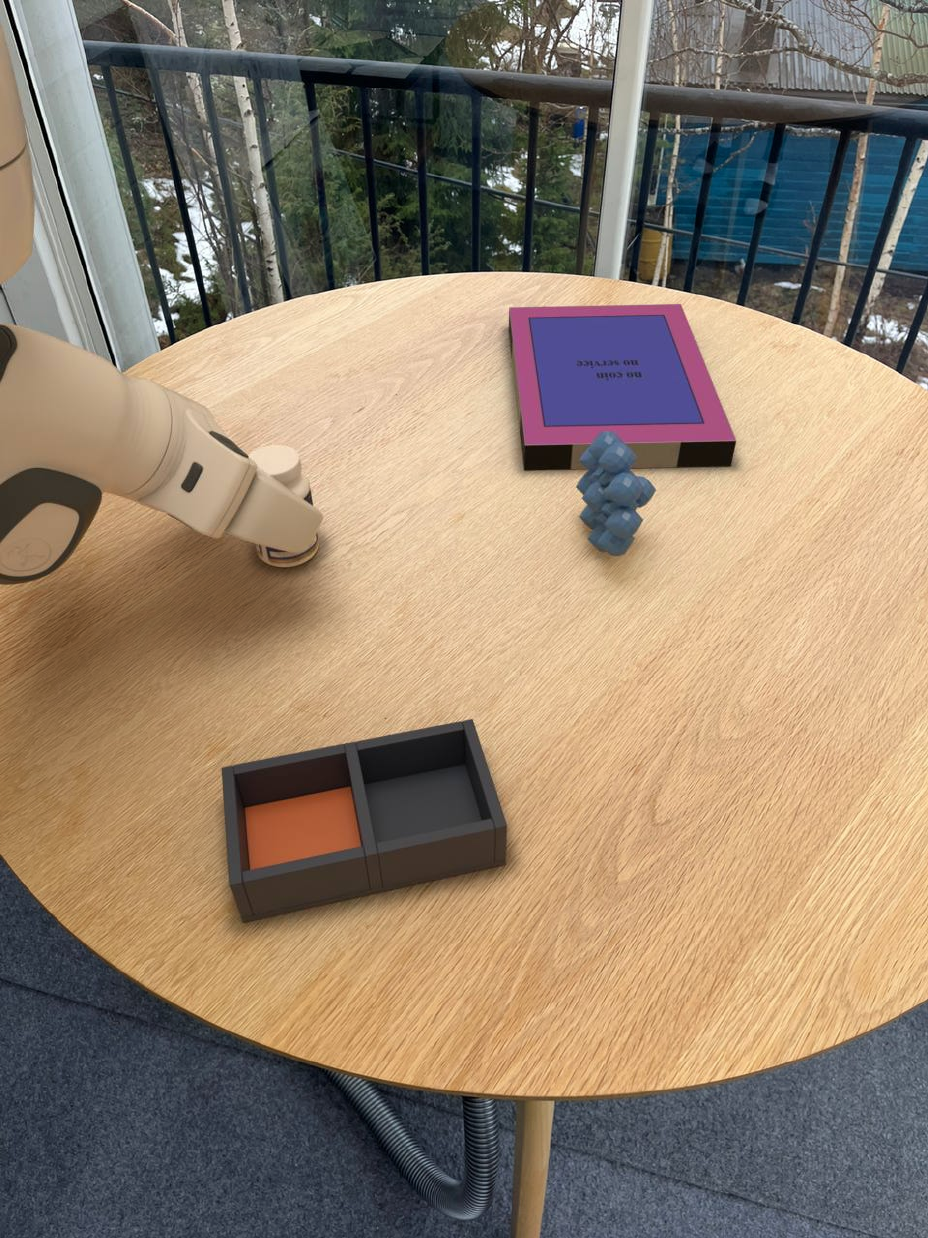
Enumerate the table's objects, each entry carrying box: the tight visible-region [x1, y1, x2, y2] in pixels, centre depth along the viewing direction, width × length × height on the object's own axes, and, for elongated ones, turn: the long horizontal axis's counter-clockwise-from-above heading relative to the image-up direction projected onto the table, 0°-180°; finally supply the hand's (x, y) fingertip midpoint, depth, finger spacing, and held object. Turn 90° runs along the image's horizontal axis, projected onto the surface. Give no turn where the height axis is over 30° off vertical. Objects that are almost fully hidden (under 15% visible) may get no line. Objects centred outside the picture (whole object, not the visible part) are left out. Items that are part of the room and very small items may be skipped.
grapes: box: [575, 431, 657, 558], centre depth 82 cm, size 12×7×12 cm, turn 10°
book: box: [508, 303, 737, 471], centre depth 105 cm, size 21×3×30 cm
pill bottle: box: [247, 444, 320, 568], centre depth 83 cm, size 6×6×10 cm
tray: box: [221, 718, 508, 923], centre depth 63 cm, size 17×9×5 cm, turn 104°
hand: (285, 498), depth 83 cm, fingers open, 6 cm apart
